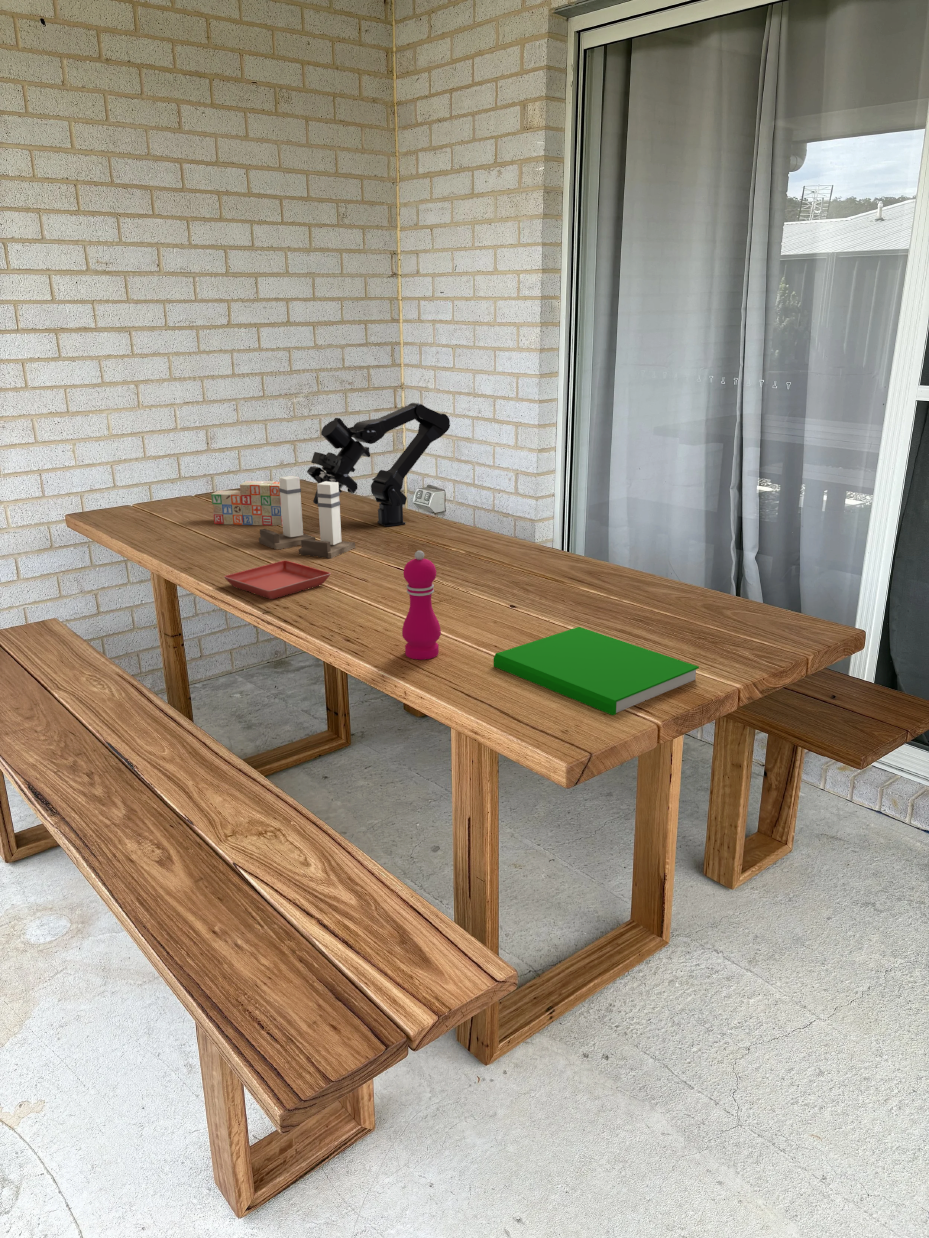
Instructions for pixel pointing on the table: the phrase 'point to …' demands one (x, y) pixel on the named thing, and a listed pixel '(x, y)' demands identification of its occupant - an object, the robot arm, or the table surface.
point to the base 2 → (324, 548)
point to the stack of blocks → (249, 504)
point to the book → (596, 669)
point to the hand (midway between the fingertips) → (314, 503)
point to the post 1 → (291, 506)
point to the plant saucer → (278, 579)
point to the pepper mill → (420, 610)
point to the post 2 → (329, 512)
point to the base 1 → (280, 539)
